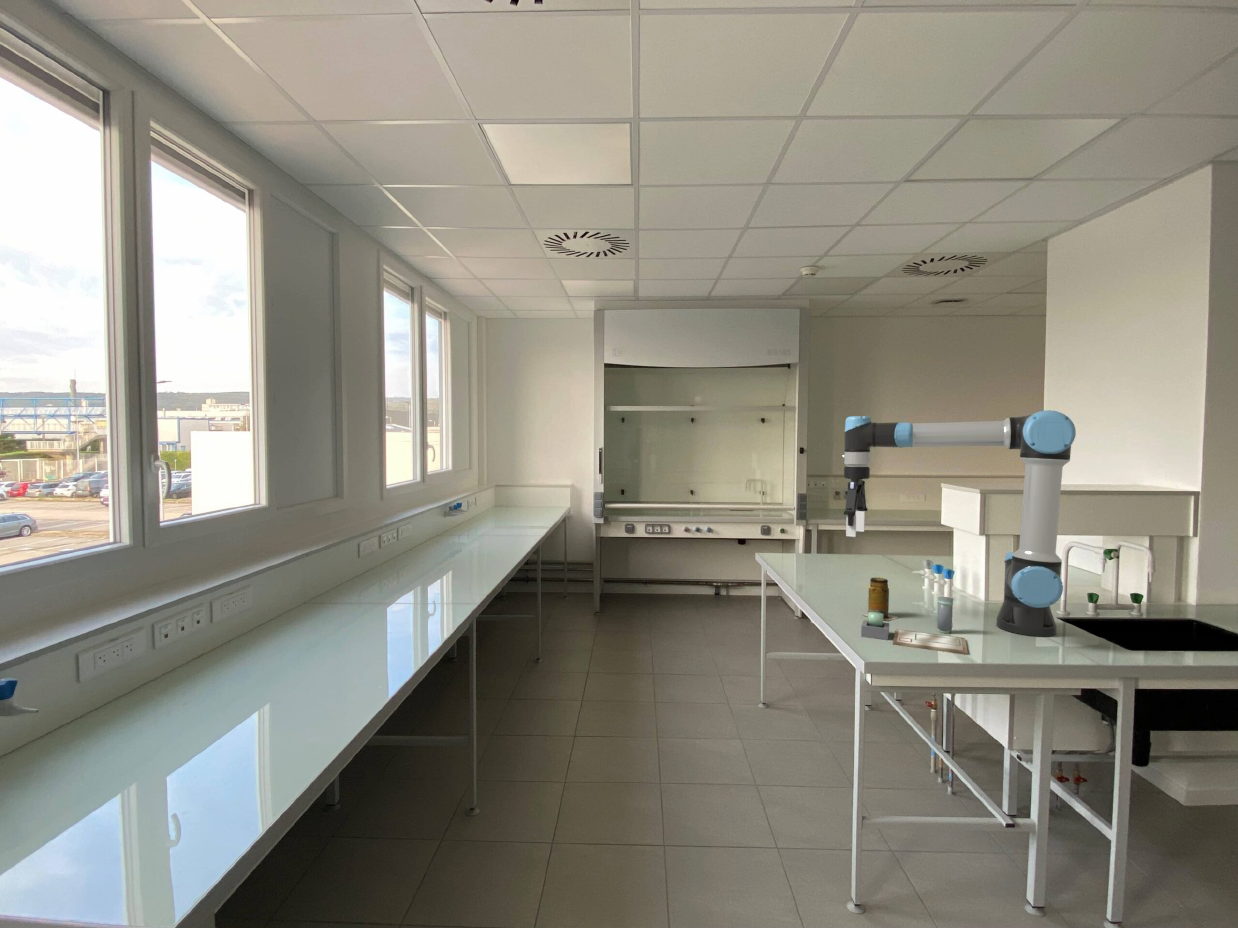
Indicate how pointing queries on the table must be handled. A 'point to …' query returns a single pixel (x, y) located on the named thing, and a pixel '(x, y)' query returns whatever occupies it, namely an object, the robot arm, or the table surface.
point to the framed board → (930, 641)
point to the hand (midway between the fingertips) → (855, 533)
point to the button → (875, 618)
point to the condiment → (879, 597)
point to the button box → (875, 630)
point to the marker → (944, 614)
